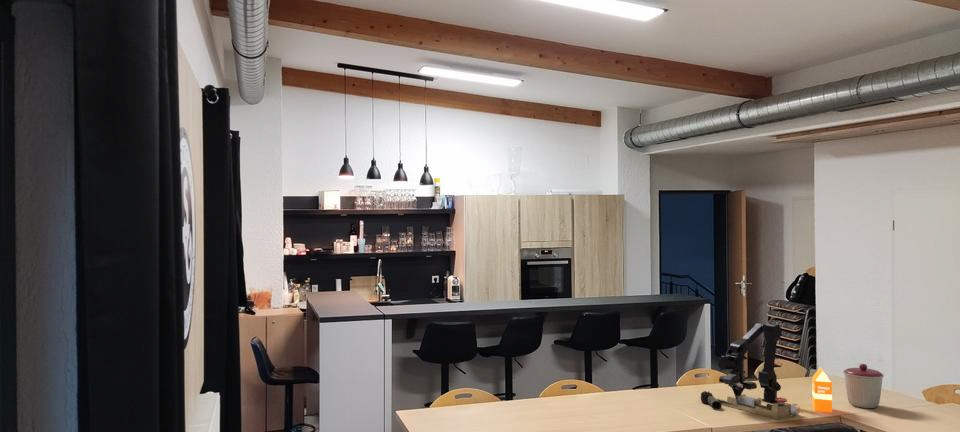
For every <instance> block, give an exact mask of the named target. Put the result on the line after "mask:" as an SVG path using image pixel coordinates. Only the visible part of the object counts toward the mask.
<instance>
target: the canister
mask: <svg viewBox="0 0 960 432" xmlns="http://www.w3.org/2000/svg"><path fill="white" fill-rule="evenodd" d="M842 373H843V374H844V380H845V381H844V383H845V389H846V395H847V400H848V403H849V404H850V405H852V406H853V407H856V408H863V409H876V408H877V407H878V406H879V405H880V402H881V394H882V387H883V385H882V384H883V378H884V377H885V374H884V373H882V372H880V371H879V370H876V369H873V368H868V365H867V364H866V363H860V364H859V365H858V367H849V368H846V369H844V370H842Z"/></svg>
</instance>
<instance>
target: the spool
mask: <svg viewBox="0 0 960 432" xmlns="http://www.w3.org/2000/svg"><path fill="white" fill-rule="evenodd" d="M735 398H736V404H740V405H743V406H747V407H751V408H755V407H756V406H759V407H761V405H762V400H761V399H762V398H760V397H758V398H756V397H752V396H748V395H746V394H745V393H742V394H741V395H737V396H736V397H735Z"/></svg>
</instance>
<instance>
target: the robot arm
mask: <svg viewBox="0 0 960 432" xmlns="http://www.w3.org/2000/svg"><path fill="white" fill-rule="evenodd" d="M782 330H783V329H782V326H780V325H779V324H774V323H766V324H765V323H761V322H757V323H755V324H754V326H752V328H751V329H749V331H748V332H747V333H746V334H744V335H743V336H742V337H741V338H740V339H737V340H735V341H733V342H732V343H730V345H729V348H727V351H726V353H725V354H724V355H721V357H720V359H719V360H718V362H717V364H718V368H719V370H721V371H727V370H729V373H728V374H725V375H723V376H722V375H721V376H719V378H718V382H719V383H721V384H722V383H723V384H724V385H728V387H730V388H731V390H732V391H733V394H734V398H736V396H737V395H742V394H743V392H744V391H745V390H755V389H757V387H758V384H757V382H755V381H749V380H748V381H746V378H744V376H745V374H746V370H745V368H744V367H745V365H744V364H745V360H748V357H747V356H746V353H747V352H748V351H749V348H750V346H751V345H752V343H754V341H755V340H757V338H759V336H761V335H762V334H763V336H764V338H765V348H764V350H765V351H764V361H763V368H762V370H760V371H758V376H757V380H758V383H759V387H760V388H762V389H763V398H761V401H762V400H763V402H766V401H767V403H770V402H771V403H770V404H774V403H778V401H776V398H778V392H779V391H781V389H782V385H780V383H779V382H778V380H777V379H778V377H777V374H776V371H775V362H776V353H777V342H778V341H779V339H780V338H781V335H782V333H783V331H782Z"/></svg>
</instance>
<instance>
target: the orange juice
mask: <svg viewBox="0 0 960 432" xmlns="http://www.w3.org/2000/svg"><path fill="white" fill-rule="evenodd" d="M811 380H812V384H811V385H812V386H811V387H812V390H811V391H812V396H811V397H812V399H811V400H812V408H813V410H814V411H815V412H822V413H833V382H832V381H831V379H830V378H829V377H828V376H827V374H826V373H825V372H824V369H822V367H821V366H820V367H819V368H818V370H817V371H816V372H815V374H814V375H813V376H812V377H811Z"/></svg>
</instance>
